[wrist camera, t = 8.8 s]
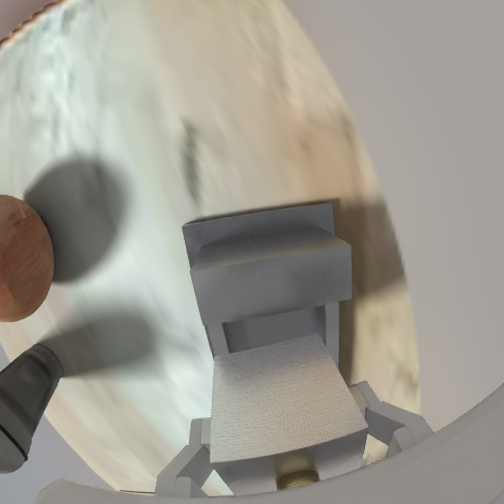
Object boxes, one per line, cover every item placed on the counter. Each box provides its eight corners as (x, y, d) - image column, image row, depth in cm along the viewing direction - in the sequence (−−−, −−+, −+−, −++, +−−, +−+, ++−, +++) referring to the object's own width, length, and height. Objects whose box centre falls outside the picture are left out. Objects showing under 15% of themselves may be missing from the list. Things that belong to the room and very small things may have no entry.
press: (245, 450, 25) (248, 491, 19) (184, 224, 18) (163, 244, 12) (329, 434, 25) (343, 473, 20) (327, 202, 18) (366, 213, 13)
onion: (54, 274, 21) (4, 355, 14) (-2, 206, 17) (-65, 276, 9) (97, 240, 18) (24, 352, 10) (25, 146, 13) (-76, 230, 5)
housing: (214, 356, 12) (209, 493, 5) (317, 333, 12) (382, 453, 5) (238, 419, 13) (247, 527, 7) (323, 400, 14) (364, 501, 7)
